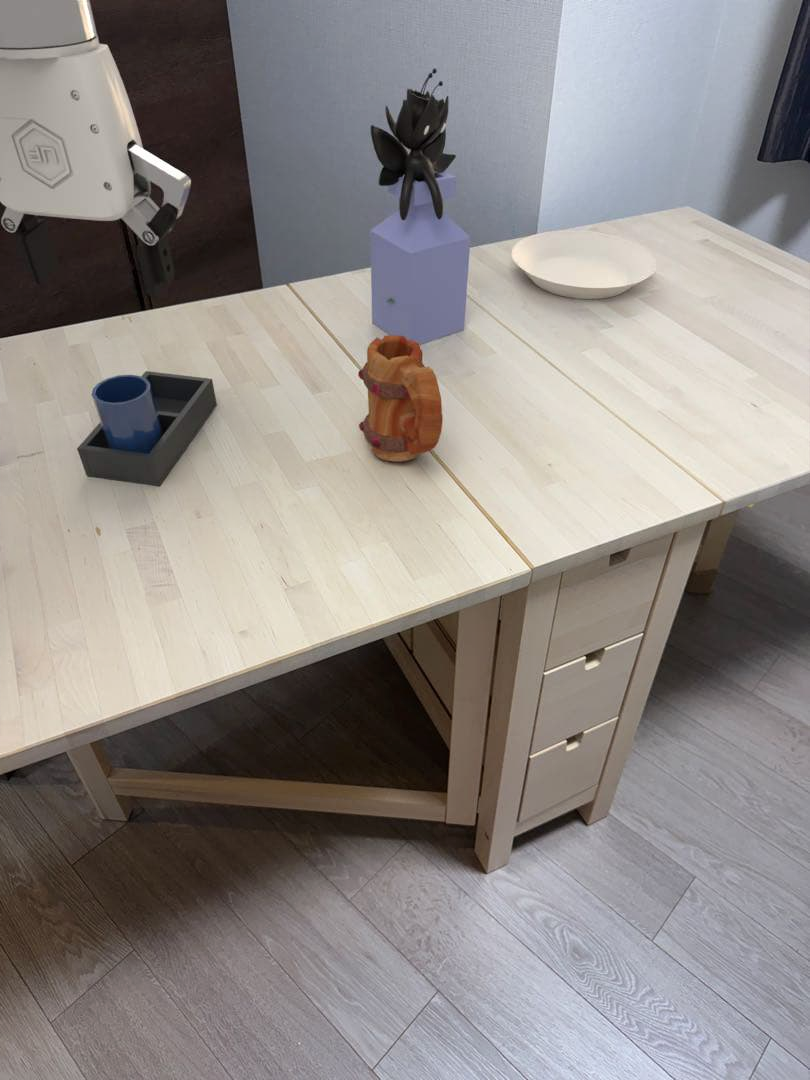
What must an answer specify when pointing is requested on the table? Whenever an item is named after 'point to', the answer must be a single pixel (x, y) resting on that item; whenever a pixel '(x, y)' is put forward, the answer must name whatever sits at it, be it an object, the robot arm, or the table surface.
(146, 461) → the holder
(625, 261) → the bowl
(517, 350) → the table surface
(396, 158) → the vase
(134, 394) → the cup
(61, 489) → the table surface
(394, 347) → the mug
